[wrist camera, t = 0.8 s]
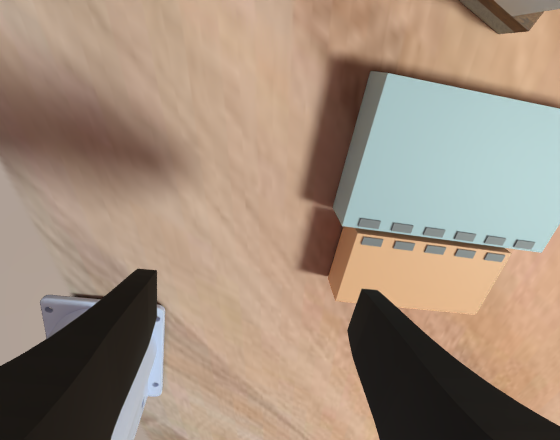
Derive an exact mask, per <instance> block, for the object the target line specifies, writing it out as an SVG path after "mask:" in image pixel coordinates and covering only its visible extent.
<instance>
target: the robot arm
mask: <svg viewBox="0 0 560 440" xmlns="http://www.w3.org/2000/svg"><path fill="white" fill-rule="evenodd" d="M40 305H41V310H42V315H43V321H44V326H45V332H46V340H44V341H43V342H41V343H39V344H38V345H36V346H35V347H33V348H31V349H30V350H29V351H27V352H25V353H23V354H21V355H20V356H18V357H16V358H14V359H13V360H11V361H9V362H7V363H5V364H3V365H2V366H0V440H134V438H135V435H136V432H137V428H138V425H139V422H140V419H141V416H142V413H143V409H144V406H145V403H146V400H147V397H148V396H159V395H161V393H162V388H163V358H164V327H165V308H164V307H163V306H161V305H158V304H157V270H146V269H137V270H136V271H134V272H133V273H132V274H131V275H129V276H128V277H127V278H126V279H125V280H124V281H122V282H121V283H120V284H119V285H118V286H117V287H115V288H114V289H113V290H112V291H111V292H109V293H108V294H107V295H106V296H104V297H103V298H102V299H91V298H79V297H68V296H57V295H46V296H44V297H43V299H42V300H41V301H40ZM49 307H51V308H52V309H51V308H49ZM157 316H158V317H159V318H157ZM347 331H348V336H349V342H350V347H351V351H352V356H353V360H354V363H355V366H356V369H357V372H358V375H359V378H360V381H361V383H362V386H363V389H364V392H365V395H366V398H367V401H368V404H369V407H370V410H371V413H372V415H373V418H374V422H375V425H376V428H377V432H378V435H379V439H380V440H560V426H558V425H556V424H555V423H553V422H551V421H549V420H547V419H546V418H544V417H542V416H540V415H539V414H537V413H535V412H534V411H532V410H530V409H529V408H527V407H525V406H524V405H522V404H520V403H519V402H517V401H516V400H514V399H512V398H511V397H509V396H508V395H506V394H505V393H503V392H502V391H500V390H499V389H497V388H495V387H494V386H493V385H491V384H490V383H488V382H487V381H485V380H484V379H482V378H481V377H480V376H478V375H477V374H475V373H474V372H473V371H471V370H470V369H469V368H467V367H466V366H465V365H463V364H462V363H461V362H459V361H458V360H457V359H455V358H454V357H453V356H452V355H450V354H449V353H448V352H447V351H445V350H444V349H443V348H442V347H441V346H439V345H438V344H437V343H436V342H435V341H433V340H432V339H431V338H430V337H429V336H428V335H427V334H425V333H424V332H423V331H422V330H421V329H420V328H419V327H418V326H417V325H415V324H414V323H413V322H412V321H411V320H410V319H409V318H408V317H407V316H406V315H405V314H404V313H402V312H401V311H400V310H399V309H398V308H397V307H396V306H395V305H394V304H393V303H392V302H391V301H390V300H388V299H387V298H386V297H385V296H384V295H383V294H382V293H381V292H379V291H378V290H372V289H361V292H360V295H359V298H358V301H357V304H356V307H355V310H354V312H353V315H352V318H351V321H350V324H349V327H348V330H347Z"/></svg>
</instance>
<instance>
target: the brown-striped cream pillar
mask: <svg viewBox="0 0 560 440" xmlns="http://www.w3.org/2000/svg"><path fill="white" fill-rule="evenodd" d="M459 1H460V2H461V3H463V4H464V5H465V6H466V7H467V8H468V9H470V10H471V11H472V12H473V13H474V14H476V15H477V16H478V17H479V18H480V19H481V20H483V21H484V22H485V23H486V24H487V25H489V26H490V27H491V28H492V29H493V30H494V31H496V32H497V33H498V34H505V33H516V32H526V31H529V30H530V29H531V28H532V26H533V25H534V24H535V22H536V21H537V20H538V19H539V17H540V16H541V15H542V13H543V12H544V11H549V10H555V9H560V0H459Z"/></svg>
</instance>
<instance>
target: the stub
mask: <svg viewBox="0 0 560 440" xmlns="http://www.w3.org/2000/svg"><path fill="white" fill-rule="evenodd" d="M510 255H511V253H510V252H509V251H508V250H506V249H505V248H503V247H496V246H488V245H481V244H473V243H466V242H458V241H451V240H443V239H436V238H428V237H421V236H413V235H406V234H398V233H391V232H383V231H375V230H368V229H360V228H353V227H345V226H343V230H342V233H341V236H340V240H339V243H338V246H337V250H336V253H335V256H334V260H333V263H332V266H331V270H330V273H329V276H328V280H329V283H330V286H331V289H332V292H333V295H334V298H335V301H340V302H350V303H357V301H358V298H359V295H360V292H361V289H372V290H378V291H379V292H381V293H382V294H383V295H384V296H385V297H386V298H387V299H388V300H390V301H391V302H392V303H393V304H394V305H395V306H396V307H401V308H411V309H421V310H432V311H442V312H452V313H462V314H472V315H476V313H477V312H478V310H479V308H480V307H481V305H482V303H483V301H484V300H485V298H486V296H487V295H488V293H489V291H490V289H491V288H492V286H493V284H494V282H495V281H496V279H497V277H498V276H499V274H500V272H501V270H502V269H503V267H504V265H505V264H506V262H507V260H508V258H509V257H510Z"/></svg>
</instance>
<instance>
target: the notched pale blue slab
mask: <svg viewBox="0 0 560 440" xmlns="http://www.w3.org/2000/svg"><path fill="white" fill-rule="evenodd" d="M333 209H334V211H335V213H336V215H337V217H338V219H339V221H340V223H341V225H342V226H345V227H353V228H360V229H368V230H375V231H383V232H391V233H398V234H406V235H413V236H421V237H428V238H436V239H443V240H451V241H458V242H466V243H473V244H481V245H488V246H496V247H503V248H511V249H518V250H526V251H533V252H541V253H542V251H543V249H544V248H545V246H546V245H547V243H548V242H549V240H550V238H551V237H552V235H553V234H554V232H555V230H556V229H557V227H558V226H559V224H560V109H559V108H554V107H549V106H544V105H539V104H535V103H530V102H525V101H520V100H515V99H511V98H506V97H501V96H496V95H491V94H487V93H482V92H477V91H472V90H467V89H463V88H458V87H453V86H448V85H443V84H438V83H434V82H429V81H424V80H419V79H414V78H410V77H405V76H400V75H395V74H390V73H384V72H375V71H370V75H369V78H368V82H367V85H366V89H365V93H364V96H363V100H362V103H361V107H360V111H359V114H358V118H357V122H356V125H355V129H354V132H353V136H352V140H351V143H350V147H349V150H348V154H347V158H346V161H345V165H344V168H343V172H342V176H341V179H340V183H339V186H338V190H337V194H336V197H335V201H334V204H333Z"/></svg>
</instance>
